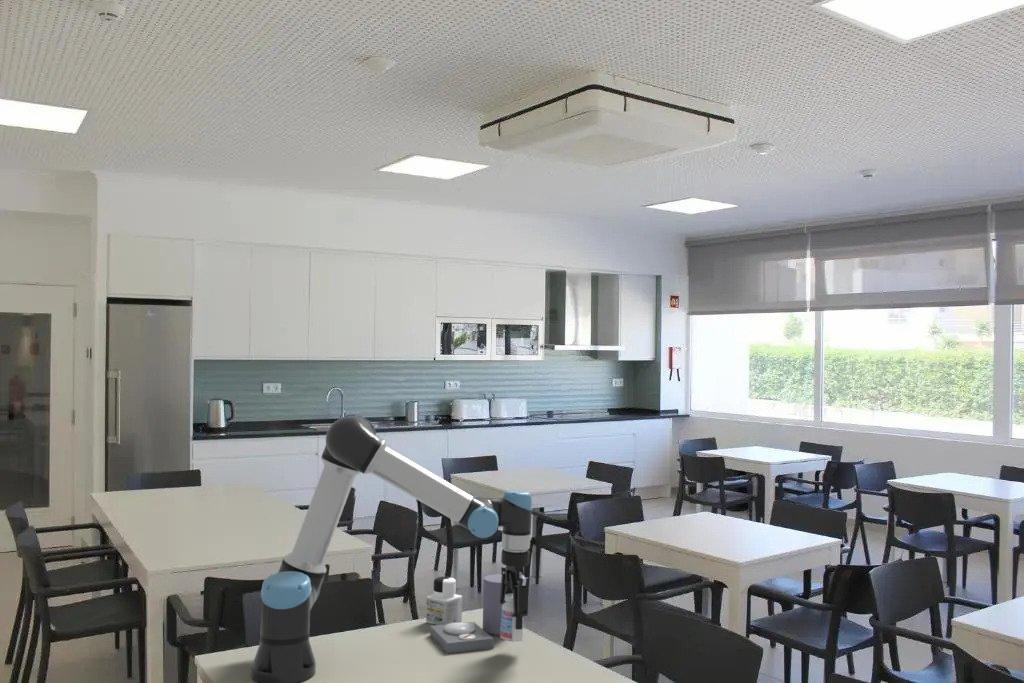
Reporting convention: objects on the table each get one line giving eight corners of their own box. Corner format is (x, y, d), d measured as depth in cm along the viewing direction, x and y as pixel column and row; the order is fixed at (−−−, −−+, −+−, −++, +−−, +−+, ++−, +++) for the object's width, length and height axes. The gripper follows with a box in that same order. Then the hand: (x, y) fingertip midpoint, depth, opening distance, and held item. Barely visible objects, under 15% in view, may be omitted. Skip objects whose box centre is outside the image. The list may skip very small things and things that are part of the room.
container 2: (490, 623, 252) (491, 572, 252) (523, 628, 248) (524, 576, 249) (476, 633, 242) (478, 580, 243) (510, 638, 239) (511, 584, 239)
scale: (447, 653, 225) (447, 639, 225) (430, 635, 239) (430, 622, 240) (493, 648, 229) (493, 634, 230) (473, 630, 244) (473, 618, 244)
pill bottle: (496, 639, 223) (498, 596, 224) (505, 633, 229) (507, 591, 230) (517, 643, 221) (520, 599, 222) (526, 636, 227) (528, 594, 227)
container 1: (425, 622, 251) (426, 578, 252) (442, 616, 258) (443, 573, 258) (445, 627, 247) (446, 582, 247) (462, 621, 253) (463, 577, 254)
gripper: (543, 556, 219) (539, 647, 218) (515, 541, 236) (511, 625, 236) (516, 557, 216) (512, 649, 215) (490, 542, 234) (486, 627, 233)
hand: (512, 636), depth 225 cm, fingers closed on pill bottle, 6 cm apart
